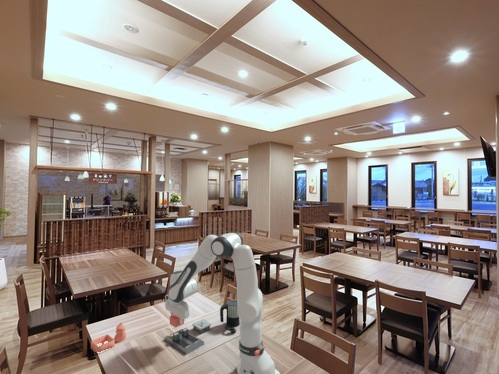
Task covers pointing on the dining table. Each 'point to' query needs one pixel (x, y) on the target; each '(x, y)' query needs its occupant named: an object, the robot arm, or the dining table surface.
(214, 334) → the dining table surface
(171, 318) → the lockout cap
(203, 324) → the electrical switch
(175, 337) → the block
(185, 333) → the breaker
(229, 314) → the milk frother
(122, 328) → the pottery
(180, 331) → the panel
